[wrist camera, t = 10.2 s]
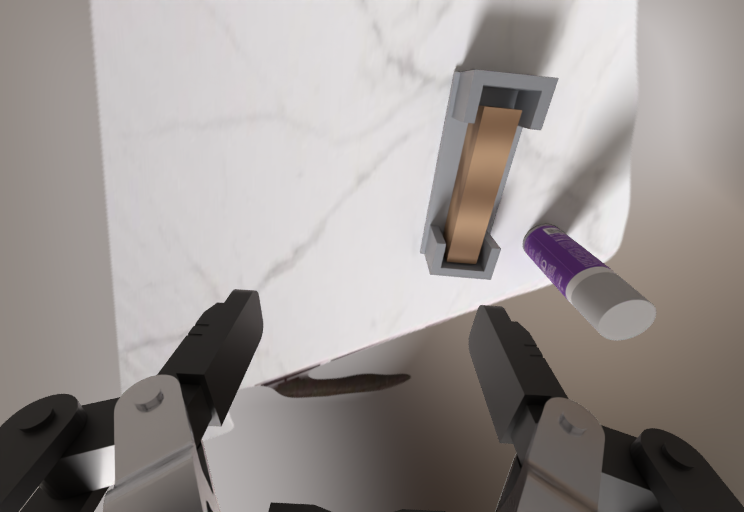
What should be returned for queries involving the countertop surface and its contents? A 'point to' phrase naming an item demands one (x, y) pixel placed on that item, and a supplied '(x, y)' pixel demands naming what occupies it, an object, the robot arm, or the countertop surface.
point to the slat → (478, 181)
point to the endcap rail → (461, 110)
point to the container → (589, 284)
